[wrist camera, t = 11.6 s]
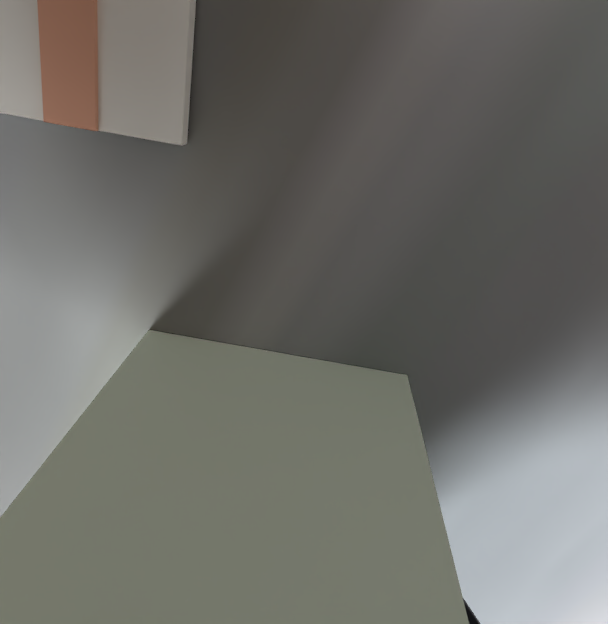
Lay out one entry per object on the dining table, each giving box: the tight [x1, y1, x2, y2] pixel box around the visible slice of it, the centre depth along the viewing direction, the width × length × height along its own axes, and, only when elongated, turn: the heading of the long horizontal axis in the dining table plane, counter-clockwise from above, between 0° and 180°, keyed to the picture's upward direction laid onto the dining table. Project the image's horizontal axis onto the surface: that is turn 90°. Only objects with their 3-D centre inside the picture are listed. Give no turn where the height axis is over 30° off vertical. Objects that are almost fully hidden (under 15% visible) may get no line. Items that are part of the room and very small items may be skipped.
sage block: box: [0, 330, 469, 624], centre depth 7 cm, size 5×5×7 cm
